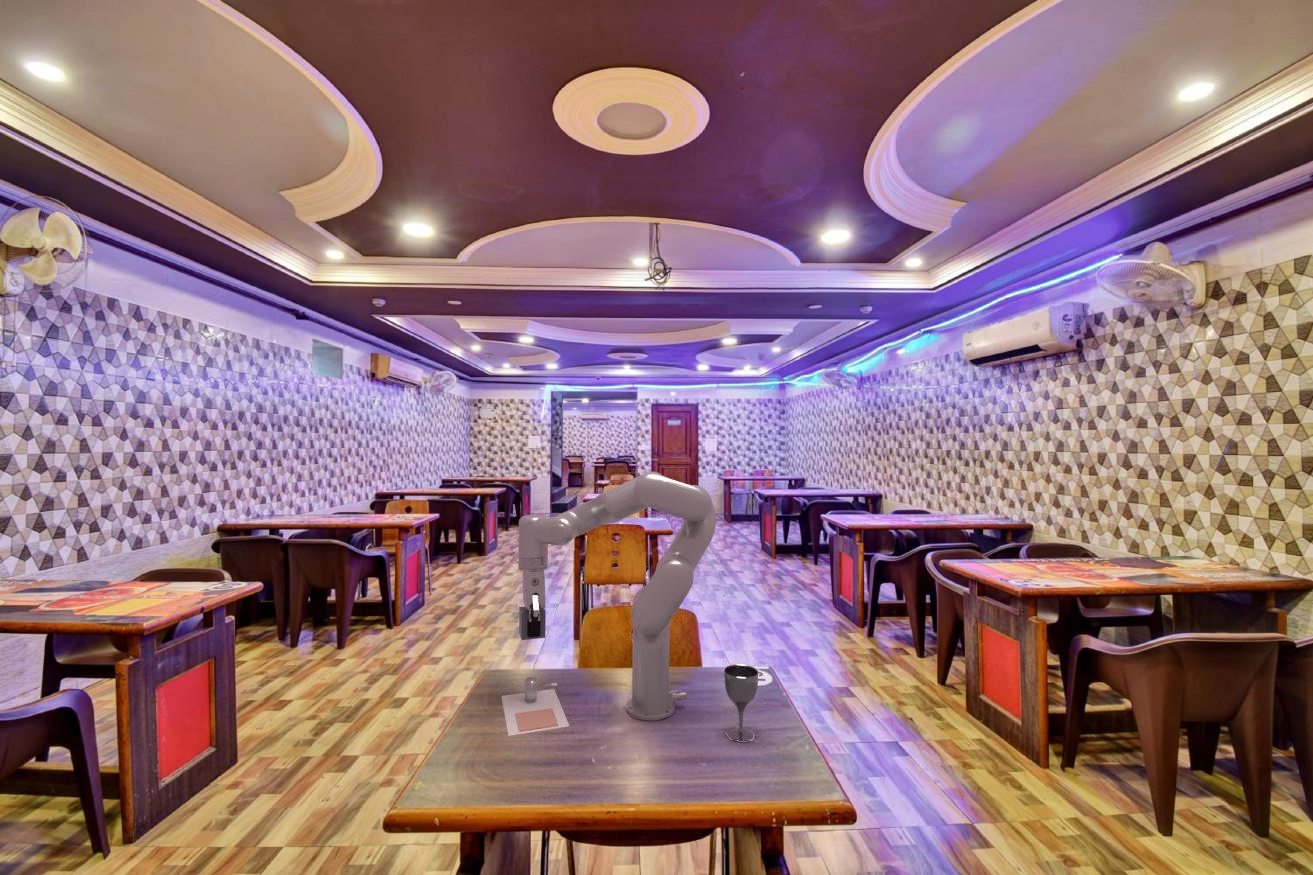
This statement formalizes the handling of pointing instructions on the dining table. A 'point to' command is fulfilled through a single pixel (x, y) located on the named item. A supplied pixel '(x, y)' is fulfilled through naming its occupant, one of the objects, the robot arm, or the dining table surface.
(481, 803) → the dining table surface
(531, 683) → the post
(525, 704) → the board
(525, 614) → the dark grey block
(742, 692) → the wine glass
